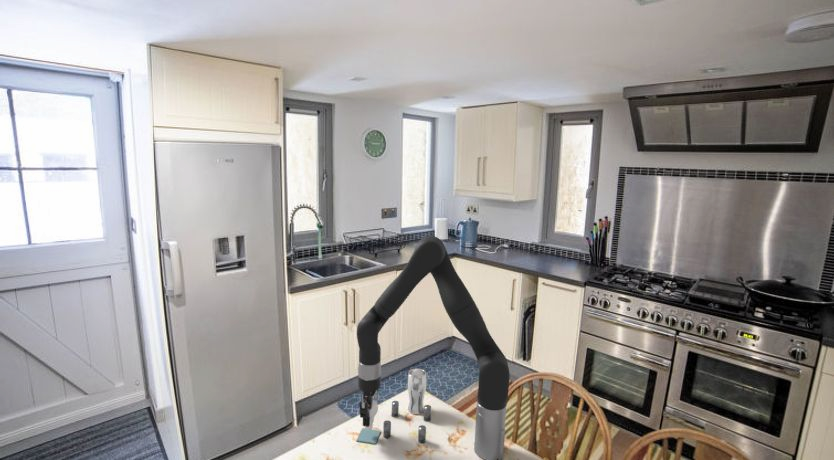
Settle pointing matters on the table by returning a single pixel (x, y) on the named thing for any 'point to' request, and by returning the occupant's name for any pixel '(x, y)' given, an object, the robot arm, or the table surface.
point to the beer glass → (416, 390)
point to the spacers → (421, 428)
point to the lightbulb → (372, 414)
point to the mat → (368, 436)
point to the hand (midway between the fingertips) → (368, 419)
